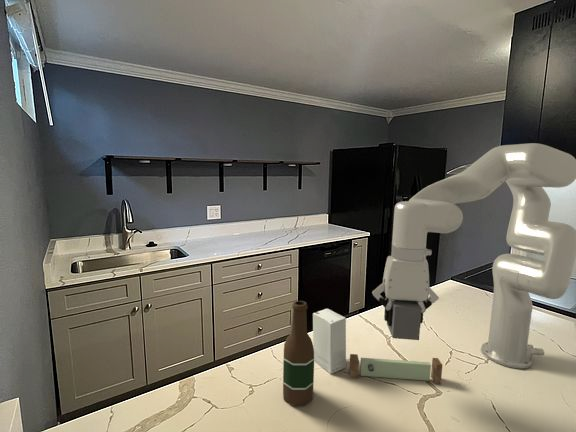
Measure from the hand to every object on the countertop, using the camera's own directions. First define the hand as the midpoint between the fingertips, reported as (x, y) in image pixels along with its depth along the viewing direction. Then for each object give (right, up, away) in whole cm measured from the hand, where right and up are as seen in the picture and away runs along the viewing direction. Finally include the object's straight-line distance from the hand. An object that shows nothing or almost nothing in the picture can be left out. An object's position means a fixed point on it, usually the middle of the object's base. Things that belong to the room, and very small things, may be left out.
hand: (402, 323), depth 76 cm
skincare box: (-17, -16, +13) cm, 26 cm away
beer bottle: (-26, -18, -1) cm, 31 cm away
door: (0, -17, +7) cm, 18 cm away
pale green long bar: (0, -17, +7) cm, 18 cm away
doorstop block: (0, -2, 0) cm, 2 cm away
